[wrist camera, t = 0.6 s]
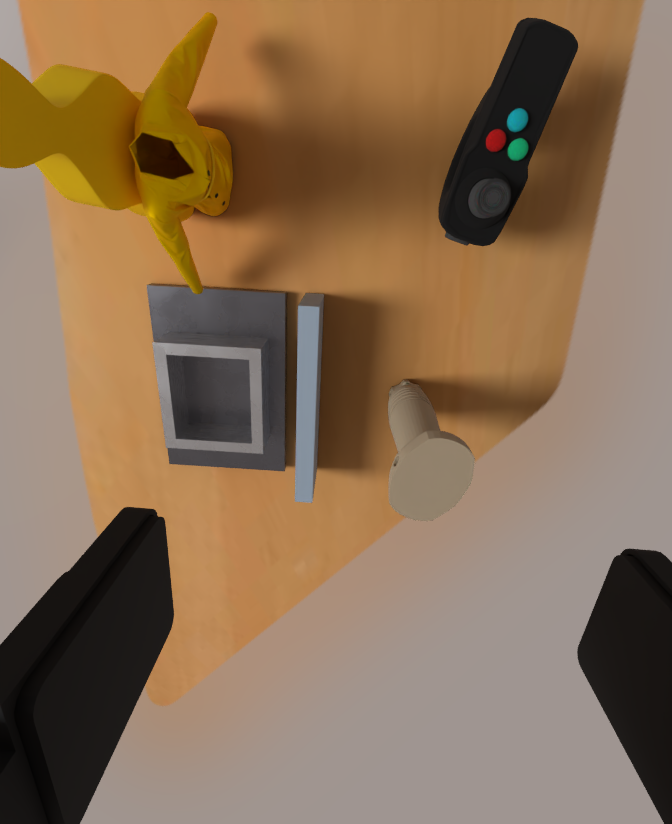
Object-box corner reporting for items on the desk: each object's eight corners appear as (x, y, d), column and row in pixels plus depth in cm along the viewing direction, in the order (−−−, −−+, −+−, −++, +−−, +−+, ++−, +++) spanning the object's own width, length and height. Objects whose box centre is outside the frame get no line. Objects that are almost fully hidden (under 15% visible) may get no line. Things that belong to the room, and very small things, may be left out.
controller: (417, 229, 35) (440, 233, 26) (486, 49, 30) (544, -24, 21) (465, 247, 35) (504, 257, 26) (541, 73, 30) (621, 11, 21)
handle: (443, 375, 40) (490, 456, 26) (411, 430, 43) (438, 530, 29) (397, 355, 39) (422, 427, 26) (367, 412, 42) (375, 505, 28)
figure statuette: (233, 292, 38) (97, 376, 18) (144, 274, 37) (-97, 340, 17) (254, 41, 30) (62, -305, 10) (143, 16, 30) (-278, -393, 10)
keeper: (151, 283, 38) (127, 291, 33) (286, 291, 37) (278, 300, 33) (173, 458, 45) (155, 482, 41) (285, 466, 45) (279, 490, 41)
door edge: (306, 292, 37) (298, 305, 32) (324, 294, 37) (319, 306, 32) (301, 467, 45) (295, 501, 39) (317, 468, 45) (312, 502, 39)
